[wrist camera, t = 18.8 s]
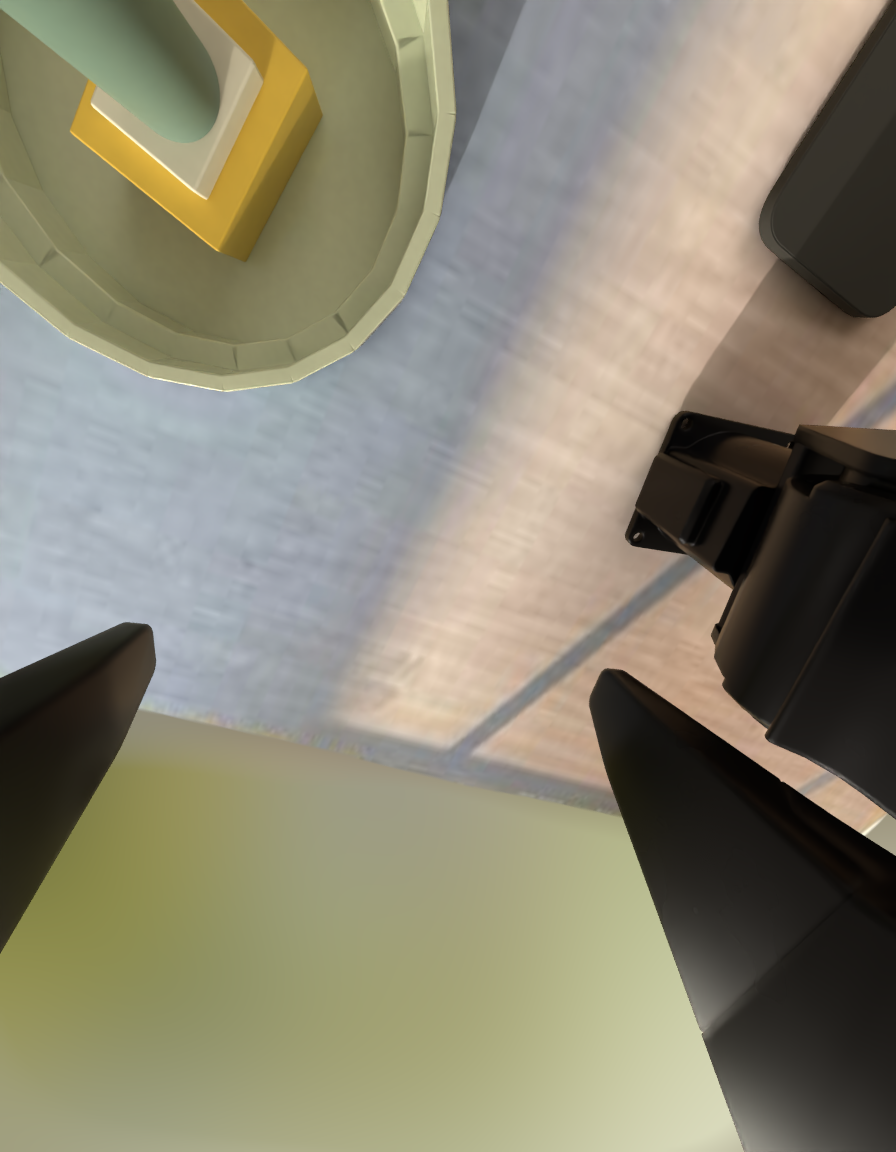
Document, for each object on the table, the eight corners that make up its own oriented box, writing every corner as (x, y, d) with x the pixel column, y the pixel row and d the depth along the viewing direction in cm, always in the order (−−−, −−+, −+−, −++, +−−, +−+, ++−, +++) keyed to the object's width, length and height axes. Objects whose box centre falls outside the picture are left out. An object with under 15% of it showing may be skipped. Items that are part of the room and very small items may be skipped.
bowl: (483, -108, 13) (517, -266, 9) (404, 408, 19) (407, 427, 16) (-119, -364, 10) (-381, -716, 7) (20, 331, 17) (-79, 334, 13)
